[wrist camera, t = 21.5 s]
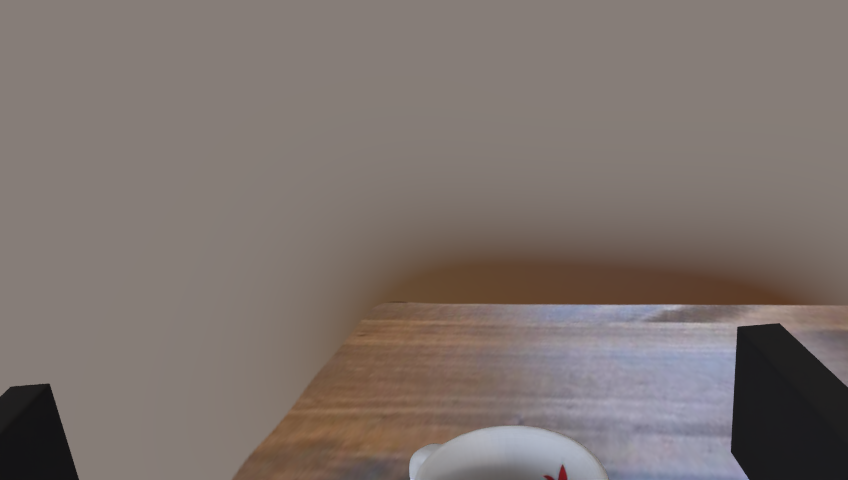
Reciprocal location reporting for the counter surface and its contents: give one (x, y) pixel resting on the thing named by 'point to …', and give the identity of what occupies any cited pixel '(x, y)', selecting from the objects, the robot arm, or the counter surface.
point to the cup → (507, 457)
